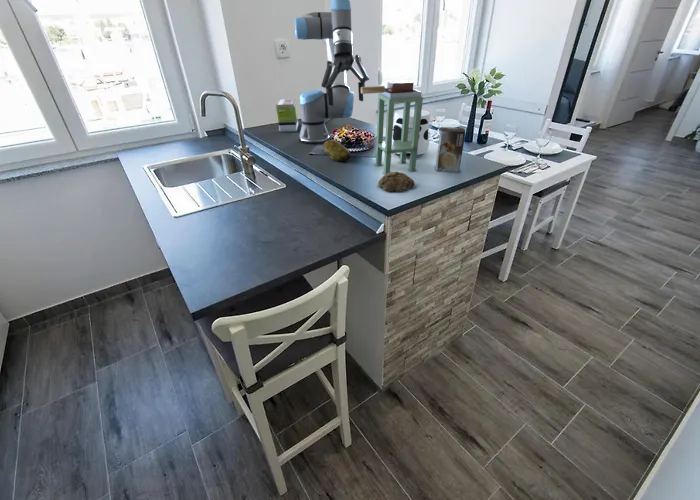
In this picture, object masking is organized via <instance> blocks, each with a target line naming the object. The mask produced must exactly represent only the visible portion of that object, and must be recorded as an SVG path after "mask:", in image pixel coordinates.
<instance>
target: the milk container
mask: <svg viewBox="0 0 700 500" xmlns="http://www.w3.org/2000/svg"><path fill="white" fill-rule="evenodd" d="M414 109H415V108H410V117H409V129H408V142H410V143H411V142H412V131H413V120H414ZM403 110H404V108H403V109H398V110H396V111H394V116H393V133H392V141H395V140H401V137H402V124H403ZM430 123H431V112H430V111H428V110H425V109H422V111H421V121H420V131H419V140H418V150H417V157H420V156H421V157H422V156H423V155H425V154H426V153H427V152H428V150H429V147H430V138H429V130H430ZM410 153H411V151H410V152H406V158H408V157H409V158H410ZM394 154H395V155H396V156H397V155H398V156H400V153H394Z"/></svg>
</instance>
